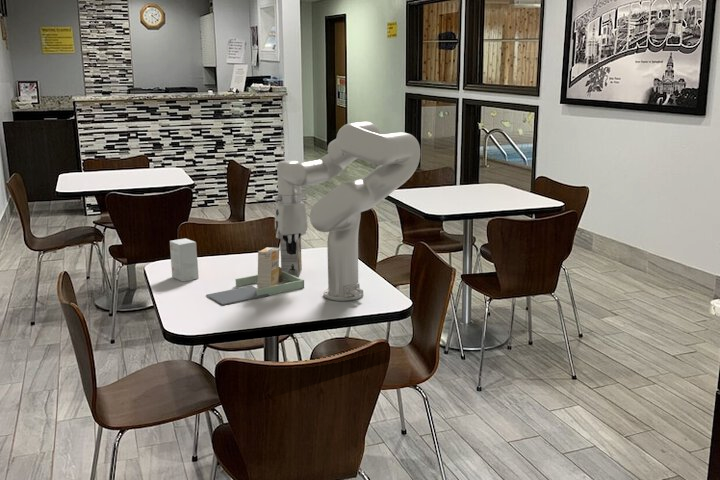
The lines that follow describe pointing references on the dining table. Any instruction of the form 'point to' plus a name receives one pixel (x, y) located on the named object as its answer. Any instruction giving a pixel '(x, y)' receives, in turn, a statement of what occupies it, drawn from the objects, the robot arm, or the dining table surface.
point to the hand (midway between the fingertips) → (291, 253)
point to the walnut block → (280, 275)
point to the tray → (294, 284)
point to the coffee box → (291, 259)
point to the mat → (235, 295)
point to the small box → (184, 259)
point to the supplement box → (268, 267)
